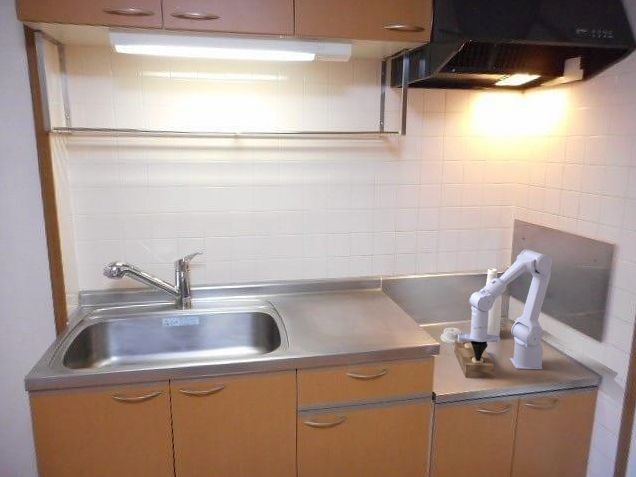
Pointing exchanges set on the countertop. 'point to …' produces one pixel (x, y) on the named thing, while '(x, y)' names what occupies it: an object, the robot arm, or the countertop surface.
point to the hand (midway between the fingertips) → (477, 359)
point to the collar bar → (472, 368)
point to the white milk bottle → (494, 308)
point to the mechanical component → (450, 335)
